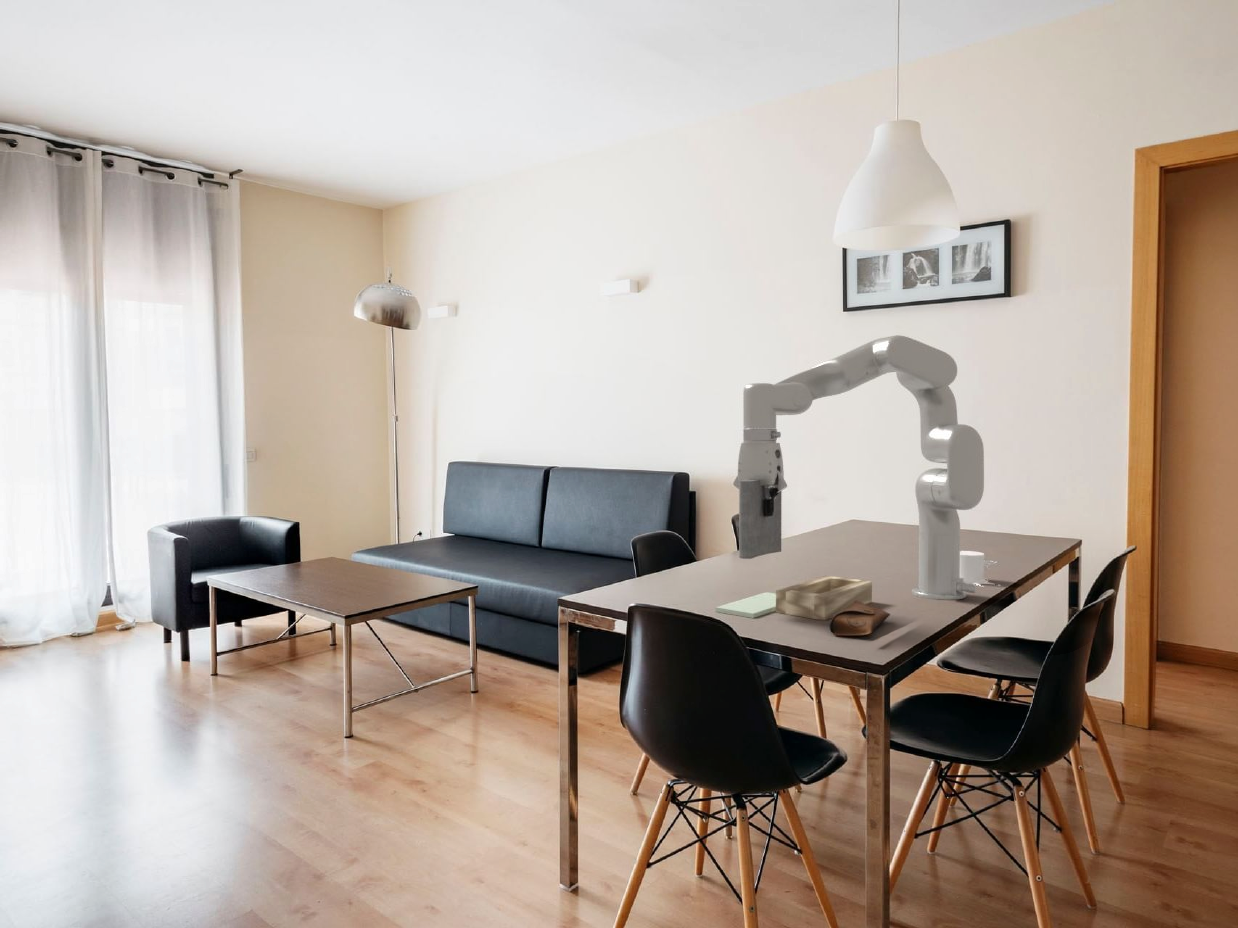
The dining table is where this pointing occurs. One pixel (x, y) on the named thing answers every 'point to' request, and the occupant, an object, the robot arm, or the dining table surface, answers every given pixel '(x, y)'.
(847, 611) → the sunglasses case
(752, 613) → the mat
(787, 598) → the beige open box
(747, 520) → the hip flask
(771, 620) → the dining table surface
